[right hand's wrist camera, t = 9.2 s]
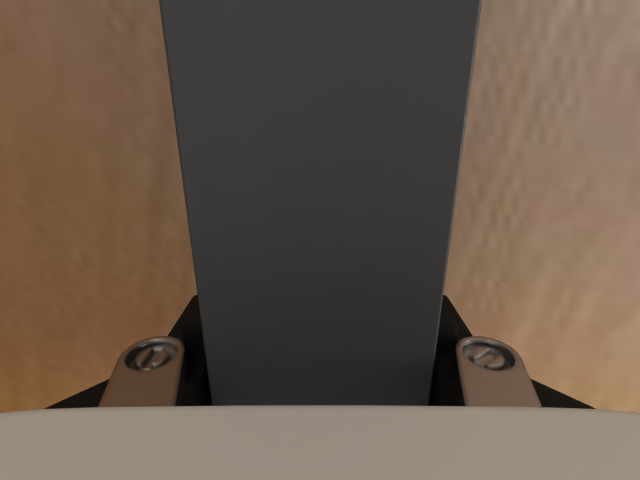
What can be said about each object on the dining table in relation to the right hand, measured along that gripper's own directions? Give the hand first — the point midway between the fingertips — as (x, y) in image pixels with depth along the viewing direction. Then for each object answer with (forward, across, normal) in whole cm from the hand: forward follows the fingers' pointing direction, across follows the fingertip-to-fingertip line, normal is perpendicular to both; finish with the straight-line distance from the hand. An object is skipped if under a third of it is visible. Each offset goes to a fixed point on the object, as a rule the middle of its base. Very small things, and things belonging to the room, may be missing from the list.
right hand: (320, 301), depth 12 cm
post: (+2, 0, -25) cm, 25 cm away
